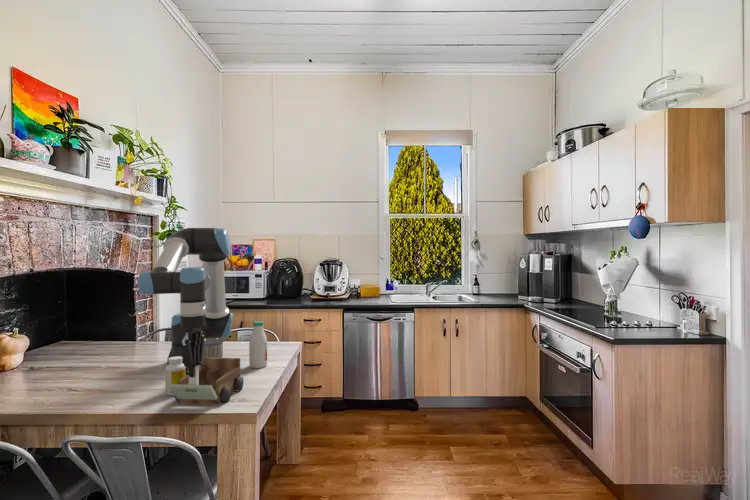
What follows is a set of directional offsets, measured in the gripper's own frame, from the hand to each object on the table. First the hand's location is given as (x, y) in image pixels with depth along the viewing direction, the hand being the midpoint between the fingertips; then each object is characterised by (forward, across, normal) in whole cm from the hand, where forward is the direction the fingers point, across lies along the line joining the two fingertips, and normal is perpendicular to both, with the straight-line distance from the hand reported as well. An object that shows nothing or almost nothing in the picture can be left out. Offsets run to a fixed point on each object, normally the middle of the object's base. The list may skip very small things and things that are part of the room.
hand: (193, 385), depth 137 cm
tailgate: (+5, +3, 0) cm, 6 cm away
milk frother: (+8, +32, +13) cm, 36 cm away
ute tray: (+8, +13, 0) cm, 15 cm away
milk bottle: (+9, +50, -4) cm, 51 cm away
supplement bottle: (+8, +14, +14) cm, 21 cm away
